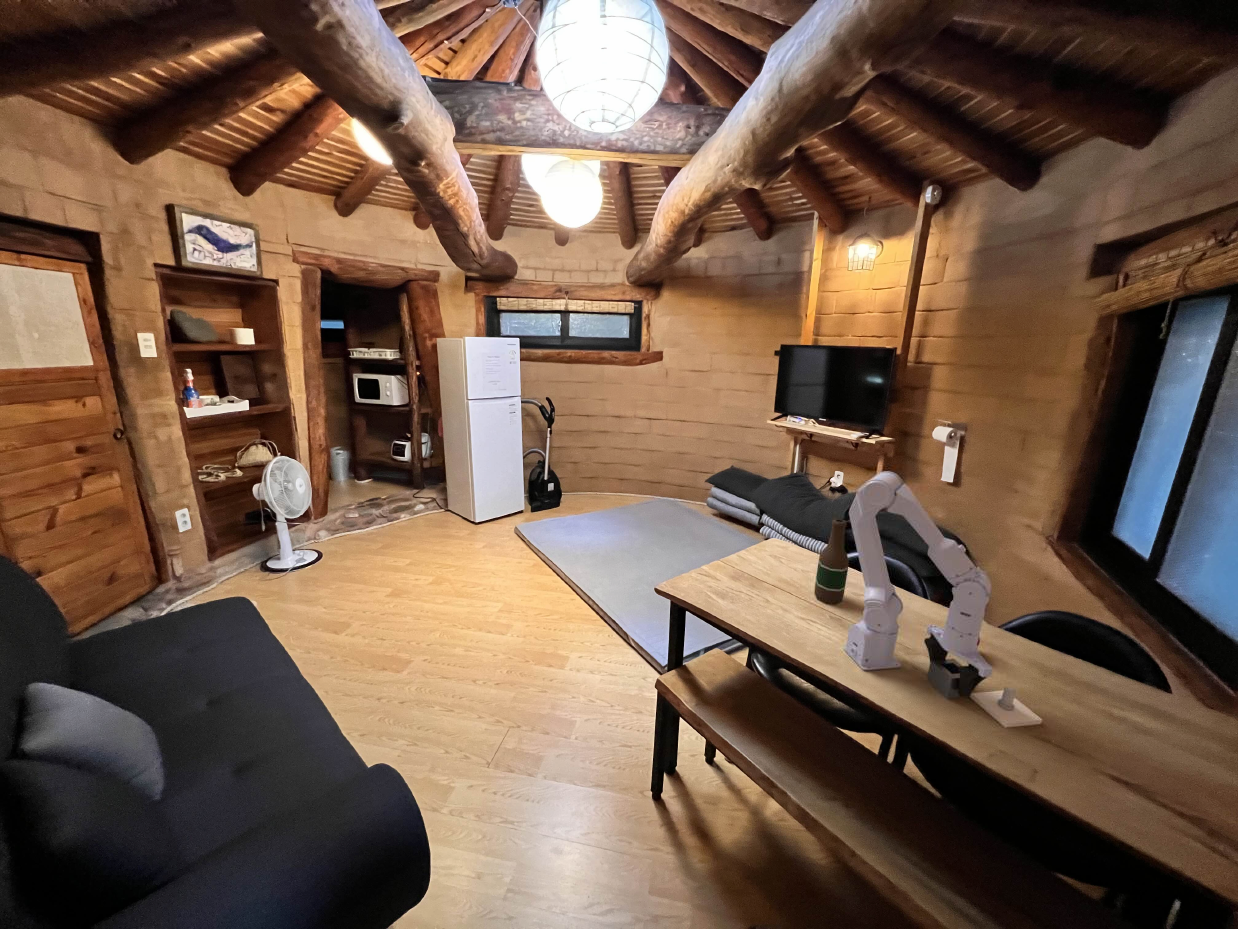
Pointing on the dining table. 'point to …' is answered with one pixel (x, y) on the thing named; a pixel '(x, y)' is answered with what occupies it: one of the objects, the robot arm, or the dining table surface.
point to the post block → (1006, 708)
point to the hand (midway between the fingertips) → (949, 682)
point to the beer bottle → (832, 567)
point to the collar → (945, 677)
